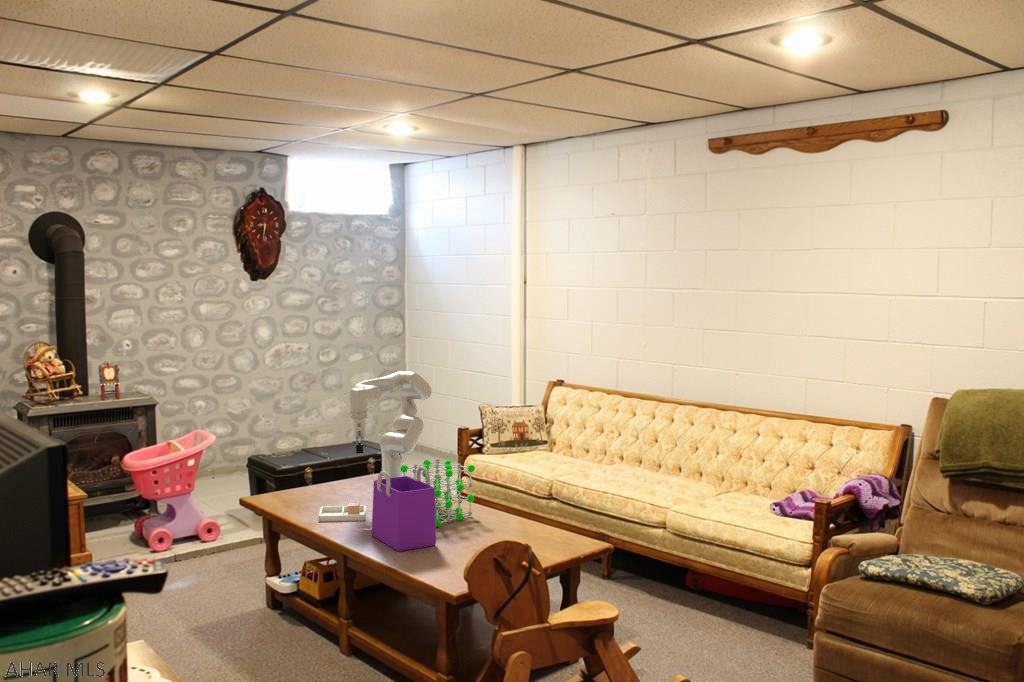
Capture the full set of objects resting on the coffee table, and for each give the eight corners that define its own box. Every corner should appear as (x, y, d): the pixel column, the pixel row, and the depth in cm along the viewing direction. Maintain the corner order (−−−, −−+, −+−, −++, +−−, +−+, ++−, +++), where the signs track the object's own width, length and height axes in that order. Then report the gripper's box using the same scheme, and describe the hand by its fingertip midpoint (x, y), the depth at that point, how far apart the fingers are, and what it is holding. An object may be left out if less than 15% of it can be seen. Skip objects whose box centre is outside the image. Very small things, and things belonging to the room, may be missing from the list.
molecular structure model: (475, 517, 391) (476, 464, 390) (437, 528, 372) (437, 473, 370) (437, 507, 407) (438, 456, 405) (398, 518, 387) (398, 464, 386)
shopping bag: (361, 538, 356) (361, 466, 354) (403, 528, 371) (403, 459, 369) (403, 554, 336) (404, 478, 334) (446, 543, 351) (447, 470, 349)
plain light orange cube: (359, 514, 391) (359, 503, 390) (359, 516, 386) (359, 505, 385) (348, 514, 390) (348, 503, 390) (347, 517, 385) (347, 506, 385)
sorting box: (365, 511, 396) (365, 505, 396) (365, 521, 381) (365, 514, 380) (321, 512, 393) (321, 506, 393) (318, 522, 378) (318, 515, 377)
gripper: (367, 417, 392) (368, 454, 394) (366, 410, 409) (367, 446, 411) (350, 418, 391) (351, 455, 393) (350, 411, 408) (351, 446, 410)
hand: (359, 450), depth 402 cm, fingers open, 9 cm apart
